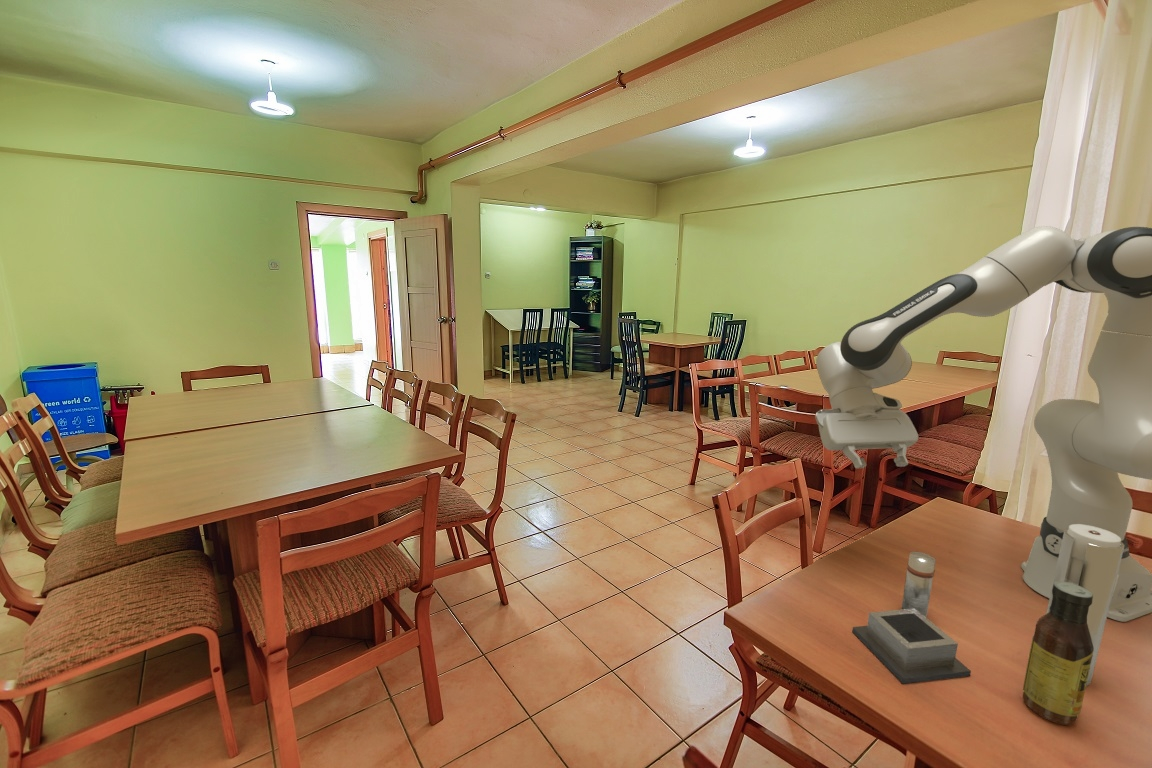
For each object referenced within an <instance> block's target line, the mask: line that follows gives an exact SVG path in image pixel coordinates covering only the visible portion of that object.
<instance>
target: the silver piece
mask: <svg viewBox="0 0 1152 768" xmlns="http://www.w3.org/2000/svg"><path fill="white" fill-rule="evenodd" d="M1123 550H1124V544H1123V543H1122V542H1121V538H1120V537H1119V536H1117V535H1116V534H1114V533H1112V532H1110V531H1107V530H1104V529H1101V528H1098V527H1094V526H1089V525H1083V524H1072V525H1070V526H1069V528H1067V529H1065V531H1064V534H1063V539H1062V544H1061V548H1060V553H1059V557H1058V562H1057V566H1056V571H1055V576H1054V580H1053V585H1054V583H1055V582H1059V581H1060V582H1068V583H1072V584H1076V585H1078V586H1081V587H1083V588H1085V589H1087V590H1088V591H1090V592H1091V593H1092V594H1093V600H1092V604H1091V605H1090V606H1089V610H1088V615H1087V624H1088V628H1089V632H1090V636H1091V640H1092V644H1093V647H1094V651H1093V657H1092V660H1091V665H1090V670H1089V675H1088V679H1087V684H1086V687H1087V686H1089V685H1090V684H1092V678H1093V676H1094V671H1095V668H1096V667H1095V666H1096V664H1097V660H1098V659H1097V658H1098V655H1099V651H1100V647H1101V643H1102V639H1103V636H1104V631H1105V627H1106V624H1107V618H1108V617H1107V615H1108V611H1109V607H1110V603H1111V599H1112V595H1113V591H1114V587H1115V583H1116V579H1117V575H1118V571H1119V566H1120V562H1121V558H1122V554H1123ZM1053 585H1052V589H1053ZM1052 589H1051V594H1050V599H1049V598H1048V603H1047V604H1048V605H1047V609H1046V612H1045V613H1046V614H1047V613H1049V612H1050V609H1049V608H1050V606H1051V604H1052V599H1053V594H1052Z"/></svg>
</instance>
